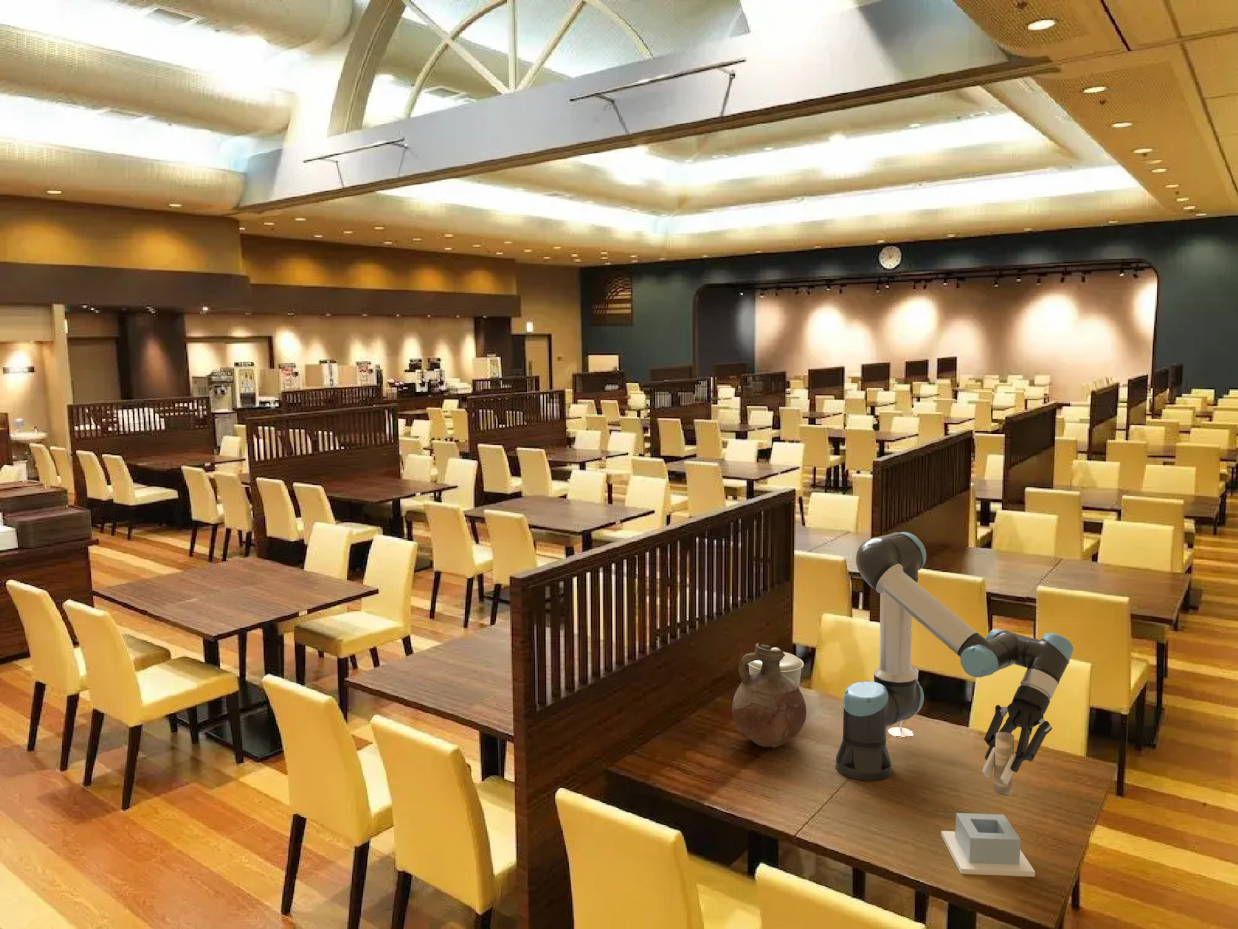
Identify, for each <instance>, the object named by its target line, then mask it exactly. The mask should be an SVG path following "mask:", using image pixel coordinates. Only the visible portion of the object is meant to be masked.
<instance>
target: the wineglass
mask: <svg viewBox="0 0 1238 929" xmlns="http://www.w3.org/2000/svg"><path fill="white" fill-rule="evenodd" d="M911 670H912V671H913V672H914V673H915V674H916V680H917V681H918V679H919V669H918V668H916V667H915V666H912V665H911ZM903 721H904V720H902V721H900V722H899V727H898V726H895V727H894V726H893V727H890V728H889V729H887V732H888V733H889V734H890V735H892V736H893V737H896V736H901V737H905V736H912V737H913V736H914V735H915V734H913V733H914V732H913V731H912V730H911V729H909V728H906V727H903V723H904V722H903ZM910 730H911V731H910ZM912 732H913V733H912ZM901 737H900V738H901Z"/></svg>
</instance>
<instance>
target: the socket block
mask: <svg viewBox="0 0 1238 929" xmlns="http://www.w3.org/2000/svg"><path fill="white" fill-rule="evenodd" d="M940 833H941V834H940V837H941V838H942V840H943V841H944V842H943V843H944V844H945V846H946V848H947V850H948V852H949V853H950V855H951V857H952V860H953V861H954V864H955V865H956V867H957V869H958V871H959V873H960V875H978V876H979V875H980V876H981V875H983V876H1002V877H1003V876H1007V877H1009V876H1010V877H1036V871H1035V870H1034V868H1033V867H1032V865H1031V863H1030V862H1029V861H1028V859H1027V857H1026V856H1025V854H1024V853H1023V851H1022V850H1021V846H1022V845H1021V844H1022V840H1021V838H1020V836H1019V835H1018V833H1017V832H1016V830H1015V829H1014V828H1013V826H1012V825H1011V823H1010V822H1009V820H1008V818H1007V817H1006V816H1005V814H995V813H993V814H992V813H989V814H988V813H967V812H966V813H965V812H955V829H954V831H953V830H952V831H951V830H941V831H940Z"/></svg>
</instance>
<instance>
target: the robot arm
mask: <svg viewBox="0 0 1238 929" xmlns="http://www.w3.org/2000/svg"><path fill="white" fill-rule="evenodd" d="M926 561H927V550H926V548H925V546H924V543H923V542H922V541H921V540H920V539H919V538H918V537H917V536H916V535H914V534H912V533H911V532H907V531H901V532H892V533H889V534H885V535H880V536H875V537H871V538H868V539H867V540H865V541H863V543H861V545H860V546H859V547H858V548H857V552H856V554H855V565H856V568H857V570H858V572H859V574H860V576H861V578H862V579H863V580H864V581H865V582H866V583H867V584H868V586H870V587H871V588H872V589H873V590H874V591H875V592H877V593H878V594H880V595H879V597H880V599H879V600H880V601H879V606H880V607H879V610H880V611H879V667H878V668H877V669H875V670H874V672H873V681H871V680H870V681H869V680H865V681H857V682H854V683H852V684H850V685H849V686H847V687H846V689H845V691H844V696H843V700H842V705H843V714H842V716H843V717H842V720H843V721H842V740H841V742H840V745H839V748H838V751H837V753H836V756H835V768H836V770H837V771H838V772H839V773H840V774H842V775H844V776H846V777H848V778H851V779H853V780H854V779H855V780H859V781H864V782H865V781H868V782H869V781H871V782H873V781H881V780H884V779H886V778H889V777H890V776H891V774H892V770H893V769H892V768H893V765H892V760H891V756H890V754H889V751H888V750H889V749H888V747H887V731H888V728H889V727H891V726H893V725H895V724H898V723H900V721H902V720H903V721H906V720H908V719H911V718H912V717H913V716H915V715H916V714H918V713H919V712H920V710H921V709H922V708H923V704H924V701H925V700H924V699H925V694H924V690H923V688H922V686H921V685H920V682H919V681H918V680H916V674H915V673H914V672H913V671H912V670H911V666H912V621H913V620H912V618H914V620H916V621H917V622H918V623H919V624H920V625H922V626H923V627H924V628H925V629H927V630H928V632H929V633H931V634H932V635H933V636H935V638H937V639H938V640H939V641H940V642H941V643H943V644H944V645H945V646H947V647H948V648H949V649H950V650H951V651H953V652H954V653H955V654H956V655H957V656H958V657H959V662H960V665H961V667H962V669H963V671H964V672H965V673H966V674H967V675H969V676H971V677H973V678H984V677H988V676H992V675H993V674H994V673H997V672H998V671H1000V670H1003V669H1006V668H1009V667H1010V666H1013V665H1016V666H1019V667H1022V668H1026V671H1025V672H1024V674H1023V677H1022V678H1021V681H1020V682H1019V686H1018V688H1017V689H1016V691H1015V693H1014V695H1013V697H1012V698H1013V699H1012V701H1011V702H1010V703H1009V704H1008V705H1007V706H1001V705H999V704H997V705H995V708H994V715H993V717H992V719H991V721H990V725H989V726H988V729H987V732H986V734H985V736H984V738H983V740H984V742H985V744H987V746H988V749H987V752H986V753H985V755H984V759H985V760H986V761H985V763H984V766H983V768H982V769H981V772H982V774H983V775H984V776H985V777H987V778H990V775H992V774H991V773H992V772H993V770H994V765H995V742H996V733H997V732H1007V733H1010V734H1012V733H1013V731H1015V730H1016V729H1017V728H1021V730H1020V734H1019V739H1018V743H1017V747H1016V750H1015V751H1014V755H1013V754H1012V755H1011V757H1010V759H1009V761H1008V763H1007V765H1006V767H1005V769H1004V771H1003V773H1002V776H1001V778H1000V779H1001V780H1002V781H1003V783H1004V784H1006V785H1008V782H1009V780H1010V778H1011V776H1012V774H1014V772H1015V773H1018V771H1019V770H1020V767H1021V766H1022V763H1023V762H1024V761H1028V762H1032V761H1033V760H1035V757H1036V755H1037V753H1038V751H1039V749H1040V747H1041V746H1042V743H1043V741H1044V739H1045V737H1046V736H1047V735H1048V734H1049V733H1050V732H1051V731H1052V730H1053V727H1052V725H1051V724H1050V722H1049V721H1048V720H1045V718H1044V715H1045V714H1046V712H1047V710H1048V708H1049V705H1050V703H1051V700H1052V698H1053V696H1054V694H1055V692H1056V690H1057V689H1058V688H1057V687H1058V686H1059V684H1060V681H1061V679H1062V677H1063V675H1064V673H1065V671H1066V669H1067V667H1068V665H1069V664H1070V661H1071V658H1072V655H1073V652H1074V646H1073V644H1072V642H1071V641H1070V640H1069V639H1067V638H1066V637H1064V636H1062V635H1060V634H1057V633H1054V632H1046V633H1044V634H1043V636H1042V637H1041V638H1040V639H1038V638H1032V637H1029V636H1026V635H1022V634H1019V633H1015V632H1013V631H1012V632H1011V631H1009V630H1006V629H1004V630H1003V629H1000V628H993V629H991V630H990V631H989V633H988V634H987V635H986V637H984V636H983V635H981V634H980V633H979V632H977V631H976V630H975V629H974V628H972V626H970V625H969V624H967V623H966V621H964V620H963V619H962V618H960V617H959V616H958V615H957V614H955V613H954V612H953V611H952V610H951V609H949V608H948V607H947V606H946V605H944V604H943V603H942V602H941V601H940V600H939V599H937V598H936V597H935V596H934V595H932V594H931V593H930V592H929V591H928V590H927V589H926V588H924V587H923V586H921V585H920V583H919V571H920V570H921V569H922V568H923V567H924V566H925V564H926ZM1006 715H1008V717H1007V718H1006V720H1005V723H1004V724H1003V722H1004V719H1005V718H1004V717H1006ZM1002 724H1003V726H1002ZM1037 725H1038V727H1037V729H1036V731H1035V732H1034V734H1033V736H1032V738H1031V739H1030V737H1031V735H1032V733H1033V728H1034V727H1036V726H1037ZM1001 726H1002V727H1001ZM1029 741H1030V742H1029Z"/></svg>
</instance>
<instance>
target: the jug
mask: <svg viewBox="0 0 1238 929" xmlns="http://www.w3.org/2000/svg"><path fill="white" fill-rule="evenodd" d="M754 646H755V648H754V649H755V650H754V652H750V653H745V654H744V655H743V656H742V657H741V659H740V660H739V663H738V673H739V677H740V681H741V683H740V684H739V686H738V688H737V689H736V691H735V694H734V696H733V700H732V704H731V714H732V716H733V720H734V722H735V725H736V726H737V729H739V731H740V732H741V733H742V734H743V735H744V736H746V737H747V738H748V739H750V740H751V741H752V743H754V744H755V745H757V746H760V747H762V748H769V747H772V748H778V747H780V746H783V745H784V744H786V743H788V742H790V741H791V740H793V739H794V738H796V736H798V734H799V733H800V732H801V730H802V728H803V727H804V724H805V722H806V718H807V706H806V701H805V698H804V695H803V693H802V691H801V690H800V688H799V687H800V686H799V687H798V685H797V683H795V682H794V681H793V680H792V679H790V678H789V677H787V676H786V675H784V674H782V673H781V670H780V661H781V660H782V659H783V657H784V656H785V654H784V653H783V652H784V651H783V650H781V649H780V651H774V650H771V648H772V647H771V646H770V645H767V644H760V642H757V643H755V645H754ZM755 660H760V661H762V667H761V670H760V671H759V672H756V673H753V674H751V675H750V674H749V672H748V671H747V670H748V669H747V666H748V663H749V662H751V661H755Z"/></svg>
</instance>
